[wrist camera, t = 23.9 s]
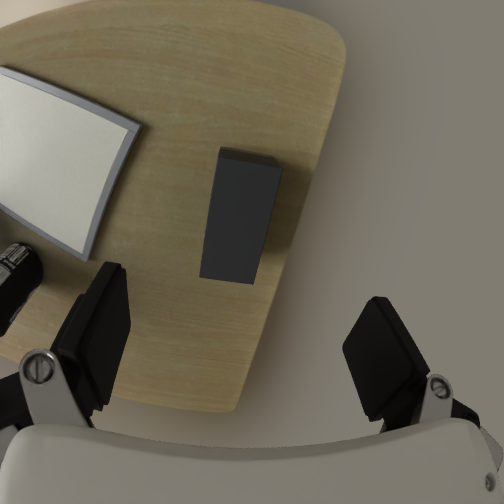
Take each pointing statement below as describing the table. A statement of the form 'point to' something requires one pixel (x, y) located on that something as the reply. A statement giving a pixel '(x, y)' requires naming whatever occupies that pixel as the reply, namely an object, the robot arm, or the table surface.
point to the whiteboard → (59, 159)
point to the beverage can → (17, 281)
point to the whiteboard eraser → (239, 215)
